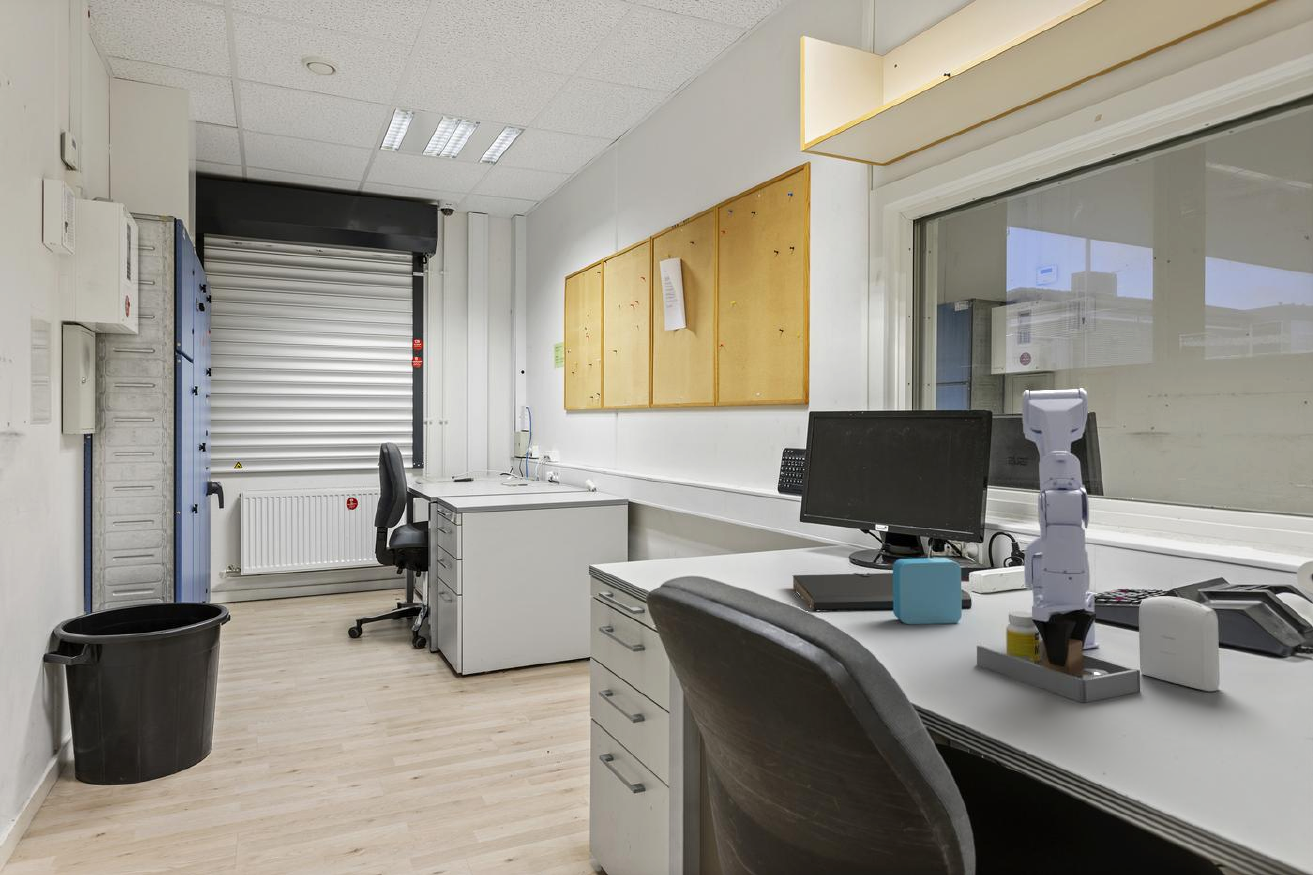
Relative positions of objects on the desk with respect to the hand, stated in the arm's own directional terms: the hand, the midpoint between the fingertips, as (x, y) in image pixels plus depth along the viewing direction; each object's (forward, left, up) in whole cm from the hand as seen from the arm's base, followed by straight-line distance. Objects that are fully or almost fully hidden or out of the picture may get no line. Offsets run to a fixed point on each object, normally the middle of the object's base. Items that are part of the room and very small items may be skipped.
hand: (1064, 661), depth 115 cm
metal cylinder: (0, +5, -3) cm, 6 cm away
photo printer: (-14, +7, -3) cm, 16 cm away
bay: (0, -2, -3) cm, 4 cm away
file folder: (-11, -58, -4) cm, 60 cm away
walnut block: (0, 0, -2) cm, 2 cm away
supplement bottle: (0, -8, -3) cm, 8 cm away
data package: (-6, -37, -3) cm, 38 cm away
